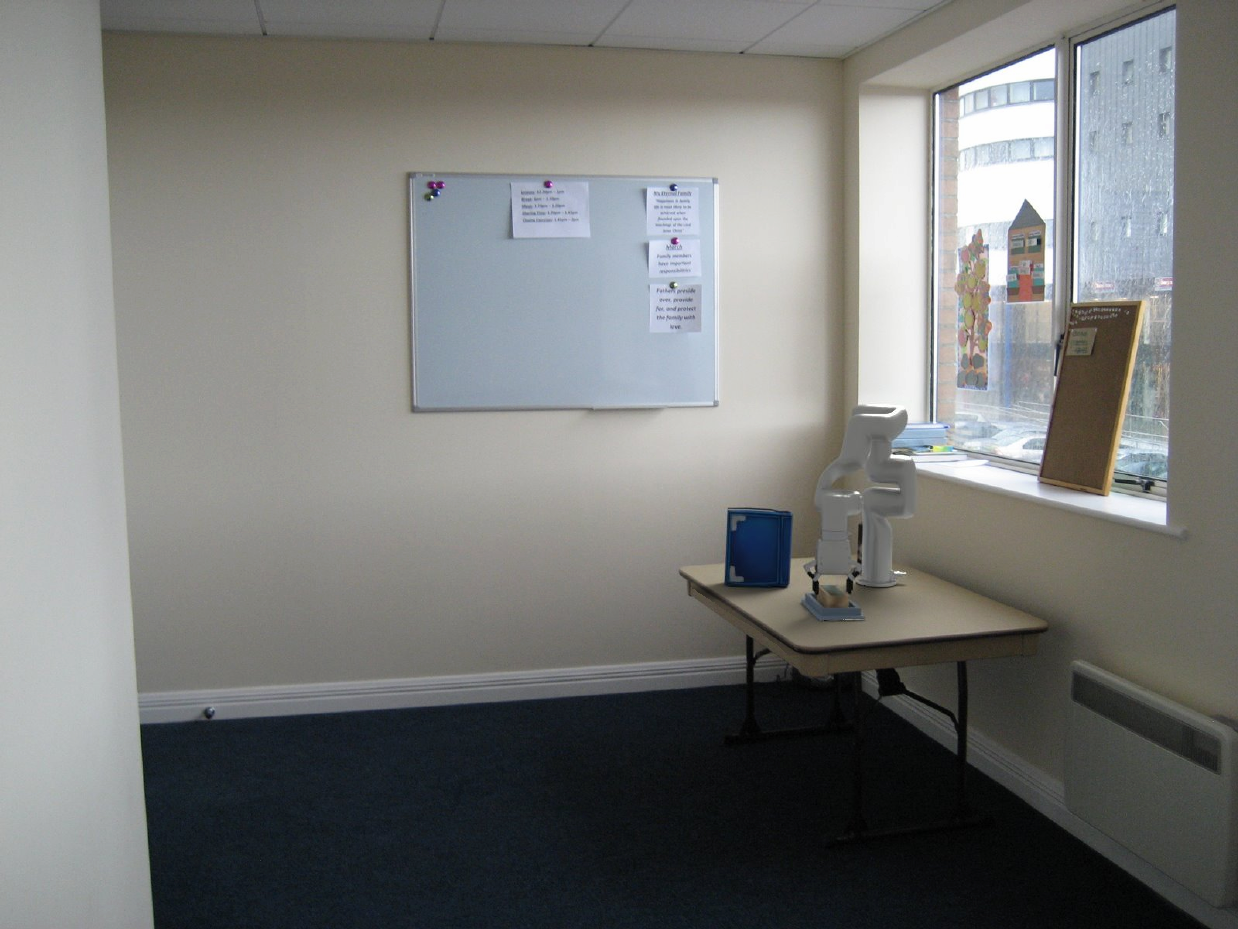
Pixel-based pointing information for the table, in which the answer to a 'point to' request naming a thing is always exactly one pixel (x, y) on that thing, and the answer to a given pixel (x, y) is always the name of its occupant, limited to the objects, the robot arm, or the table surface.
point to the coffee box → (860, 543)
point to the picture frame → (832, 596)
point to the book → (758, 547)
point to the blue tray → (831, 609)
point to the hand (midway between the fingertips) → (832, 593)
